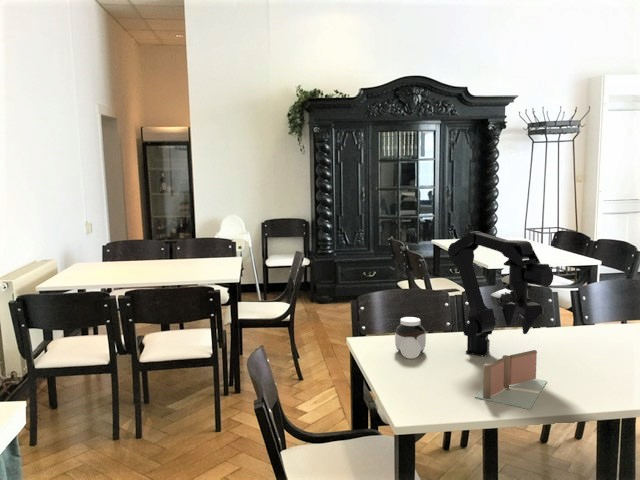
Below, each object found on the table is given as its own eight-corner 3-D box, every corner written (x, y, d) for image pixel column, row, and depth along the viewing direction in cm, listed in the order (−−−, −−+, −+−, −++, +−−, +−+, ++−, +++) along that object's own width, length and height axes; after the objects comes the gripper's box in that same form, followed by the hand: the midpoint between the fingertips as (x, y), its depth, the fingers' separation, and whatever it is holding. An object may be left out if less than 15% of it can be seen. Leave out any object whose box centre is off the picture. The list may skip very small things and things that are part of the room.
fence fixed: (482, 398, 145) (482, 365, 144) (494, 383, 156) (495, 352, 155) (502, 403, 142) (503, 369, 141) (514, 387, 153) (515, 355, 152)
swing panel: (505, 388, 151) (506, 358, 150) (500, 386, 153) (500, 355, 152) (537, 380, 156) (538, 350, 155) (532, 377, 158) (532, 348, 157)
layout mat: (475, 397, 146) (475, 396, 146) (497, 372, 165) (497, 371, 165) (530, 409, 138) (530, 408, 138) (546, 381, 157) (547, 380, 157)
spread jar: (415, 346, 191) (415, 315, 190) (435, 356, 181) (435, 322, 180) (387, 352, 186) (387, 319, 185) (405, 361, 176) (406, 327, 175)
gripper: (480, 276, 174) (478, 323, 176) (511, 289, 156) (509, 340, 158) (510, 275, 176) (509, 320, 179) (545, 287, 158) (543, 337, 160)
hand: (516, 329), depth 169 cm, fingers open, 9 cm apart
